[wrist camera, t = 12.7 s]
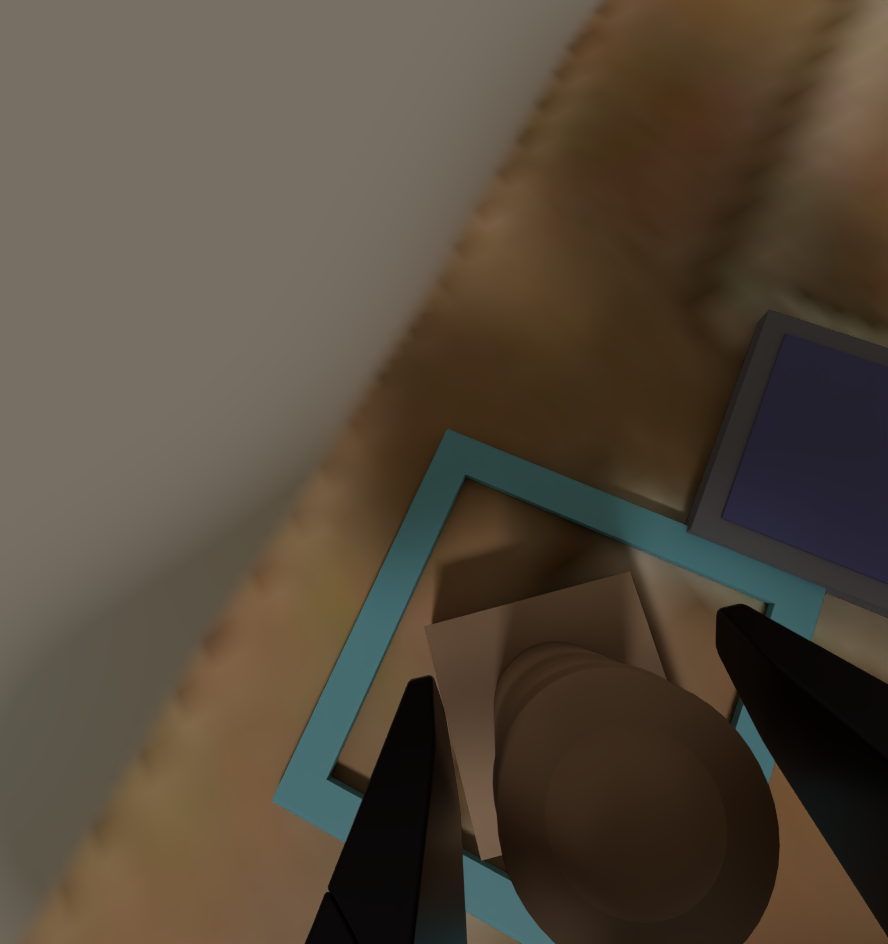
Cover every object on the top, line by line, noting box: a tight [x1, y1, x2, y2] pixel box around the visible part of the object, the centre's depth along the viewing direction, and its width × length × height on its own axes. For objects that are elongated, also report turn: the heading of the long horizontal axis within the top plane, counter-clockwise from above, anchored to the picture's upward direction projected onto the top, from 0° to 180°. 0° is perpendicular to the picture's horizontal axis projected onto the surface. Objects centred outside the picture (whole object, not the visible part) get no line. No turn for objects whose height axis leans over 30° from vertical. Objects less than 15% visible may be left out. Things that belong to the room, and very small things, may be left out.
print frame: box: [272, 429, 826, 944], centre depth 17 cm, size 12×12×1 cm
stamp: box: [424, 571, 780, 944], centre depth 12 cm, size 6×6×10 cm
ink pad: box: [685, 310, 888, 618], centre depth 17 cm, size 8×8×1 cm
